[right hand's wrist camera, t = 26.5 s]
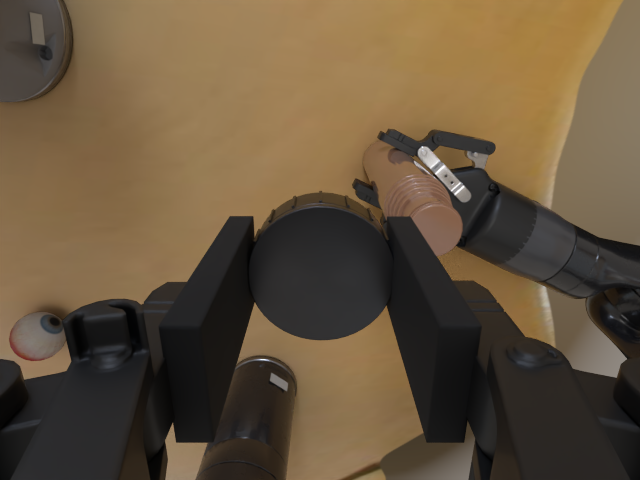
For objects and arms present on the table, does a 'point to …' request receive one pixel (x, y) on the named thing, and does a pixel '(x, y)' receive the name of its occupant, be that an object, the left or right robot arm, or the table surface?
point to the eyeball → (37, 336)
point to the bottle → (413, 195)
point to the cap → (321, 267)
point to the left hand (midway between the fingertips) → (367, 160)
